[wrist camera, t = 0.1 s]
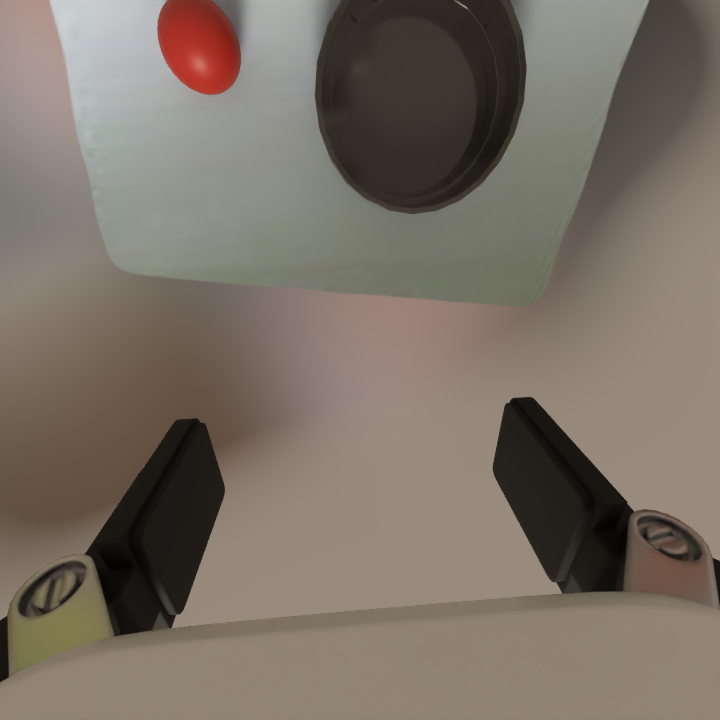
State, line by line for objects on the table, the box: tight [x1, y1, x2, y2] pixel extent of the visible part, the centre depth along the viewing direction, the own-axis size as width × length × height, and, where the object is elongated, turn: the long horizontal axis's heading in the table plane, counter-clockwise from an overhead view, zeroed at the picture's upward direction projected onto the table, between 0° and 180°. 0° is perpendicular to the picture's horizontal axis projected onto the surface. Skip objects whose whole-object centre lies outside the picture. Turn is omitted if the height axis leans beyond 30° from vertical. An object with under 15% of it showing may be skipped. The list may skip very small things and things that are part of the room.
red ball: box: [157, 0, 241, 95], centre depth 27 cm, size 6×6×6 cm
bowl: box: [315, 0, 526, 214], centre depth 30 cm, size 17×17×6 cm
